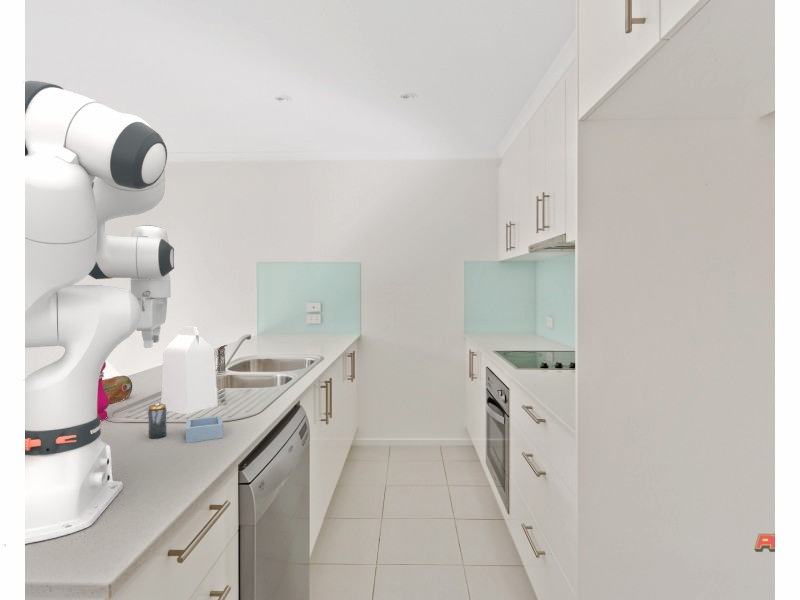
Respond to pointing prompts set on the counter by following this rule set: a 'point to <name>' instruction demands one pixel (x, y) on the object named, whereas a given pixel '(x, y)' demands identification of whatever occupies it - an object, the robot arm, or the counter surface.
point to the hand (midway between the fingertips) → (151, 344)
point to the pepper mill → (102, 397)
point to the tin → (117, 388)
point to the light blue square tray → (204, 429)
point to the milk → (188, 373)
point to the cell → (157, 421)
